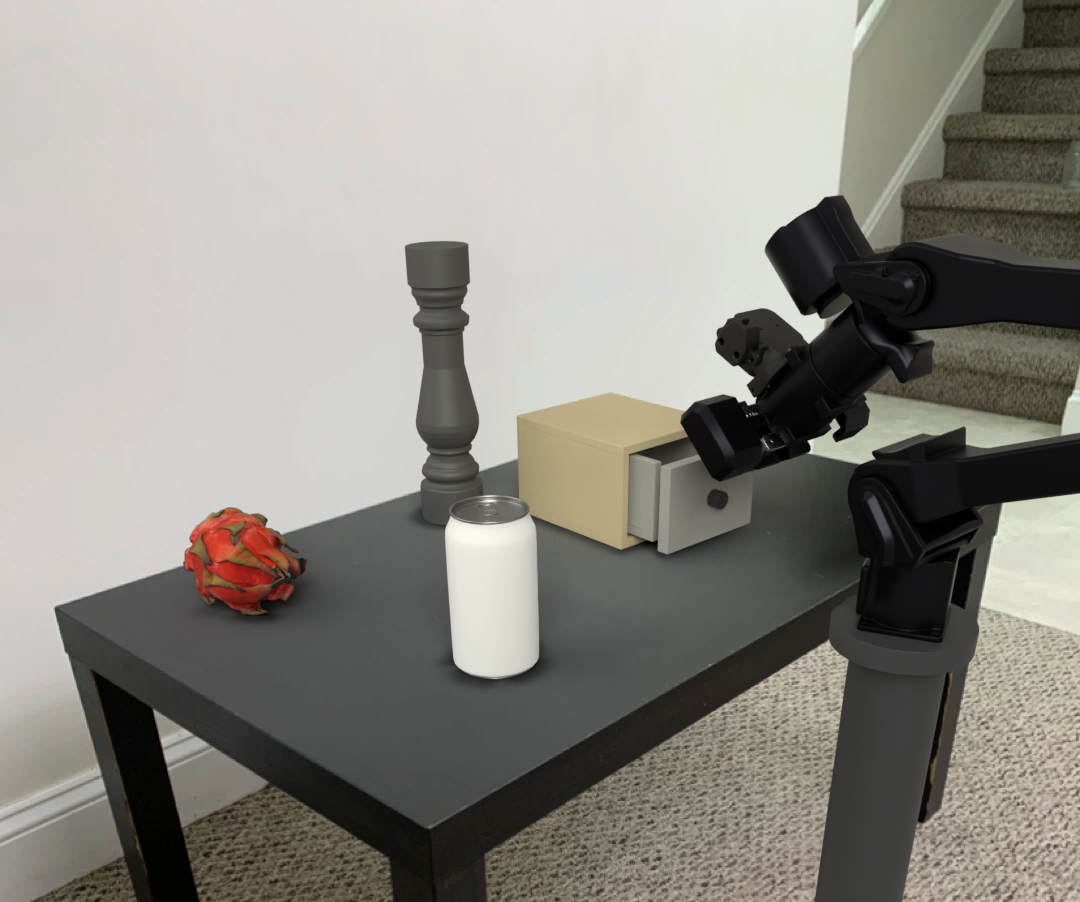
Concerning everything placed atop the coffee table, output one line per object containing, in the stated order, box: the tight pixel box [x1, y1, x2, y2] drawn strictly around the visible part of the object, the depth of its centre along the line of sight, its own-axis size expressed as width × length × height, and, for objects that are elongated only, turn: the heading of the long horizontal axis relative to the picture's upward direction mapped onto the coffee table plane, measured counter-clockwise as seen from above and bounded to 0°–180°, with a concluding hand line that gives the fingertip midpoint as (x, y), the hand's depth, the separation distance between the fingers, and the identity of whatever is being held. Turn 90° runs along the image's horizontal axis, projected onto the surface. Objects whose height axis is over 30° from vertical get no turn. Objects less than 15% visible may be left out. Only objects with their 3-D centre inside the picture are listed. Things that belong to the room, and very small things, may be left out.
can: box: [444, 494, 540, 681], centre depth 79 cm, size 6×6×12 cm
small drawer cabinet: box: [516, 391, 688, 551], centre depth 106 cm, size 15×13×10 cm
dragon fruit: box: [182, 506, 308, 616], centre depth 90 cm, size 8×8×12 cm
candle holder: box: [404, 240, 484, 527], centre depth 103 cm, size 6×6×25 cm
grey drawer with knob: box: [627, 437, 755, 555], centre depth 102 cm, size 15×11×8 cm
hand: (719, 473), depth 97 cm, fingers closed
